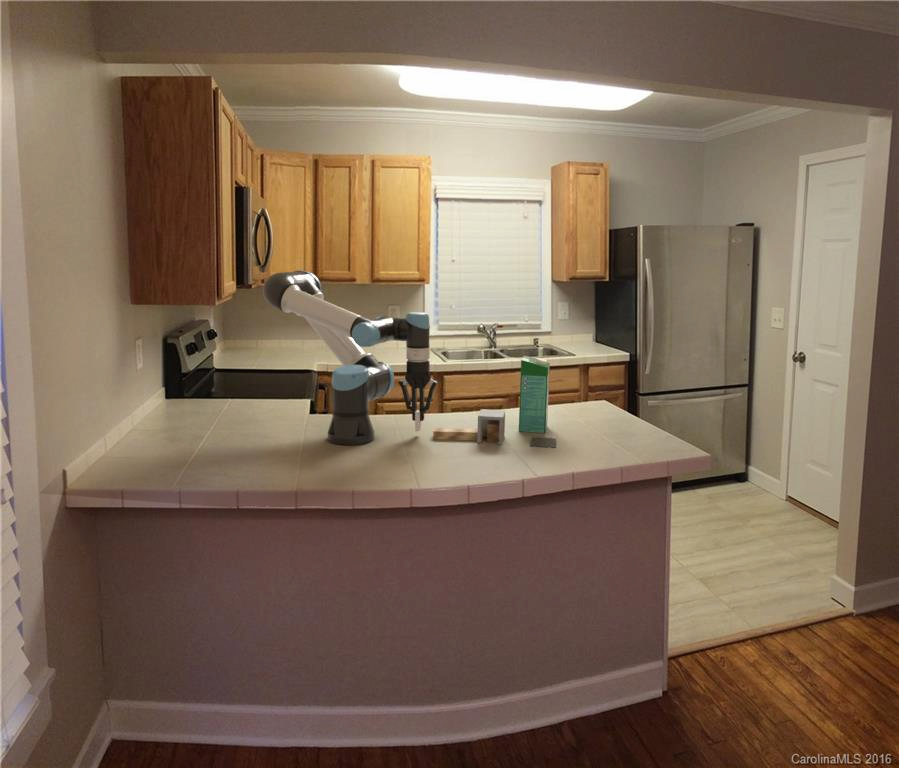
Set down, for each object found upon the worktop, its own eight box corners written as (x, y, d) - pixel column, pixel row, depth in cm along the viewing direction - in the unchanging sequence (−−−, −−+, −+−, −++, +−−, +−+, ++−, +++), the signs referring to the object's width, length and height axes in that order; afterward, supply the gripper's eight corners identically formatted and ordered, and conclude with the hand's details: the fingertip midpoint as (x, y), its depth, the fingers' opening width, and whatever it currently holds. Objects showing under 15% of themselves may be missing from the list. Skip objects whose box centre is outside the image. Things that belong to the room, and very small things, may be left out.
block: (487, 441, 233) (487, 424, 231) (488, 437, 238) (489, 420, 236) (502, 442, 232) (503, 424, 231) (503, 438, 237) (504, 420, 236)
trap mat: (530, 446, 228) (530, 445, 228) (531, 437, 238) (531, 437, 238) (555, 447, 227) (555, 447, 227) (556, 439, 237) (556, 438, 237)
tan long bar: (433, 440, 235) (433, 431, 234) (434, 436, 239) (434, 428, 238) (482, 441, 234) (482, 432, 234) (482, 437, 238) (482, 429, 238)
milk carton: (545, 433, 243) (548, 360, 238) (518, 431, 245) (521, 359, 240) (547, 426, 252) (550, 356, 247) (521, 424, 254) (523, 354, 248)
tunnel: (477, 442, 231) (477, 415, 229) (480, 435, 240) (481, 409, 238) (502, 444, 230) (502, 417, 228) (504, 436, 239) (505, 410, 237)
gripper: (395, 361, 231) (396, 432, 235) (435, 362, 229) (435, 434, 233) (400, 357, 238) (401, 426, 243) (439, 358, 236) (439, 428, 241)
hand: (418, 430), depth 238 cm, fingers closed
